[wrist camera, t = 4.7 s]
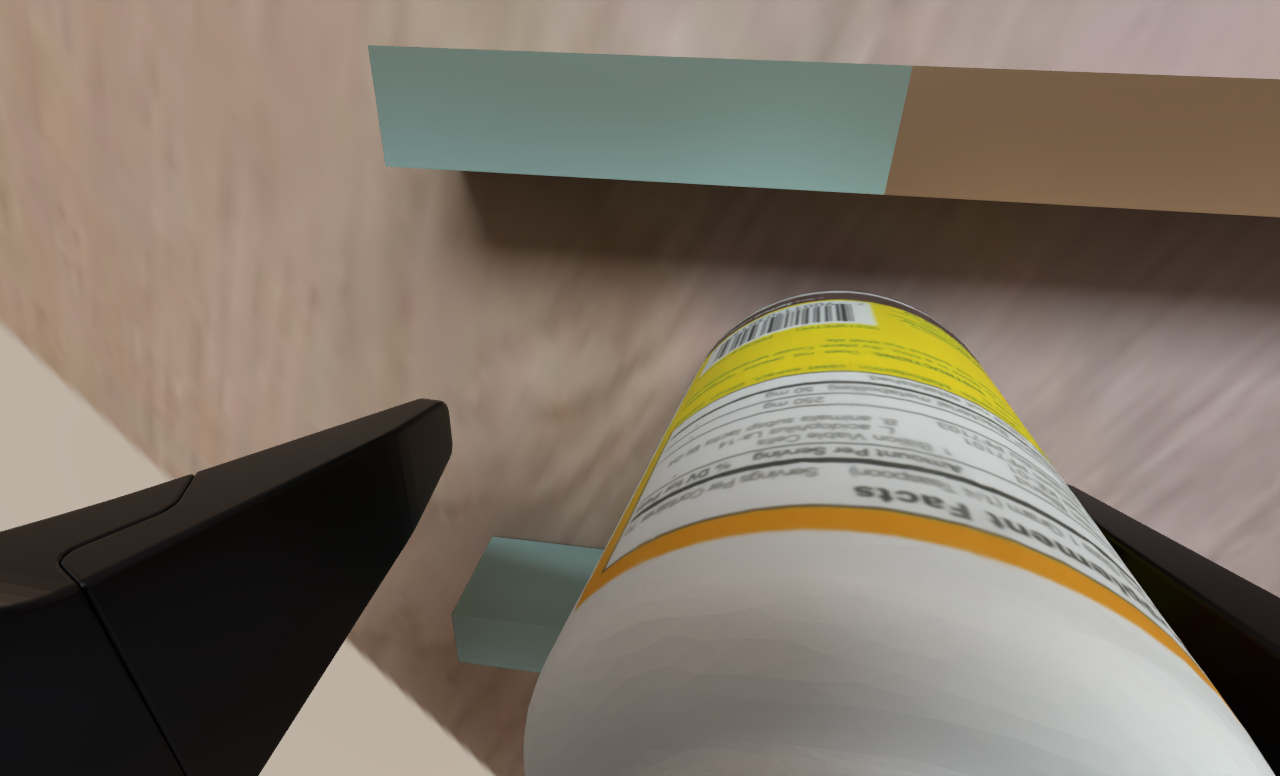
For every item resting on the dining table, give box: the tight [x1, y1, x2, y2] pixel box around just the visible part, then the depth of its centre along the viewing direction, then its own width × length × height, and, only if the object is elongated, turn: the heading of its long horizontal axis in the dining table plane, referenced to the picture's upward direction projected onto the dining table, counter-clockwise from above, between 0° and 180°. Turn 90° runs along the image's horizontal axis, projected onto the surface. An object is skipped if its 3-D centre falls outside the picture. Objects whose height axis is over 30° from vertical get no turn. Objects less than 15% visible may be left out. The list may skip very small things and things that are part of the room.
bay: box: [368, 46, 1280, 673], centre depth 10 cm, size 12×23×2 cm, turn 88°
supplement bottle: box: [523, 291, 1275, 776], centre depth 7 cm, size 6×6×10 cm
